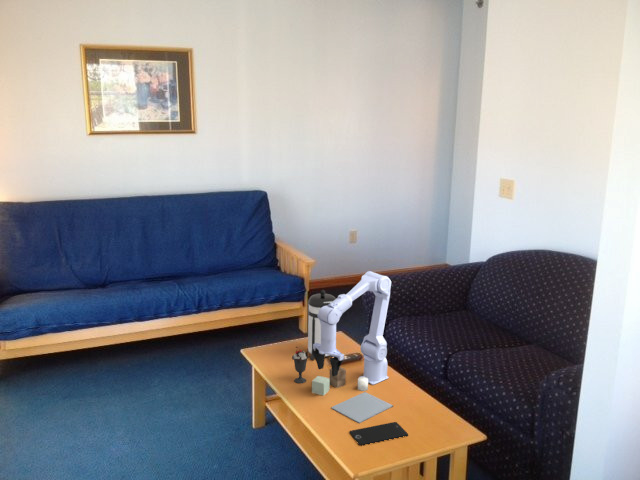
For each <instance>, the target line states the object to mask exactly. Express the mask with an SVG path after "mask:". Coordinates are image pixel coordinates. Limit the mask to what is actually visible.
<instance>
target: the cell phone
mask: <svg viewBox="0 0 640 480" xmlns="http://www.w3.org/2000/svg"><path fill="white" fill-rule="evenodd" d="M349 434H350V436H351V435H352V436H353V437H352V436H351V437H352V438H353V439H354V441H355V440H356V441H357V442H358V443H357V442H356V441H355V442H356V443H357V445H358V446H360V445H363V446H366V445H365V444H368V445H371V444H370V443H373V444H376V443H375V442H378V443H381V442H380V441H383V442H385V441H384V440H387V441H390V440H389V439H392V440H395V439H394V438H397V439H400V438H399V437H402V438H404V437H403V436H406V437H408V436H409V433H407V431H406V430H405V429H404V428H403V426H401V425H400V424H399V423H398V421H394V422H392V421H391V422H387V423H382V424H377V425H373V426H367V427H363V428H358V429H353V430H349Z"/></svg>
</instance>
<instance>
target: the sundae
mask: <svg viewBox="0 0 640 480" xmlns="http://www.w3.org/2000/svg"><path fill="white" fill-rule="evenodd" d="M295 348H296V349H297V350H295V352H294V354H293V355H292V357H291V359H292V360H293V361H294V362H293V363H294V369H295V371H296V372H297V373H298V377H296V378H294V380H293V381H294V383H296V384H305V383H307V379H306V378H304V377H303V373H304V372H305V371H306V368H307V362H308V359H310V356H309V351H308V350H307V351H304V350H302V349H300V348H298V346H295Z"/></svg>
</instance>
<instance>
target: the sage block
mask: <svg viewBox="0 0 640 480" xmlns="http://www.w3.org/2000/svg"><path fill="white" fill-rule="evenodd" d="M330 386H331V385H330V379H329V377H325V376H320V375H317V376H315V378H313V379H312V380H311V393H312V394H314V395H320V396H325V395H326V394H327V393H328V392H329V391H330Z"/></svg>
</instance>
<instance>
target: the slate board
mask: <svg viewBox="0 0 640 480" xmlns="http://www.w3.org/2000/svg"><path fill="white" fill-rule="evenodd" d="M393 407H394V404H391V403H389V402H387V401H386V400H383V399H381V398H378V397H376V396H375V395H373V394H370V393H368V392H366V391H363V392H362V393H360V394H357V395H355V396H353V397H350V398H348V399H347V400H344V401H341V402H339V403H337V404H335V405H333V406H331V407H330V409H331V410H333V411H335V412H337V413H338V414H342V415H343V416H344V417H346V418H348V419H350V420H352V421H354V422H356V423H357V424H361V423H363V422H365V421H368V420H369V419H371V418H373V417H375V416H377V415H379V414H382V412H384V411H387V410H389V409H391V408H393Z"/></svg>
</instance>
